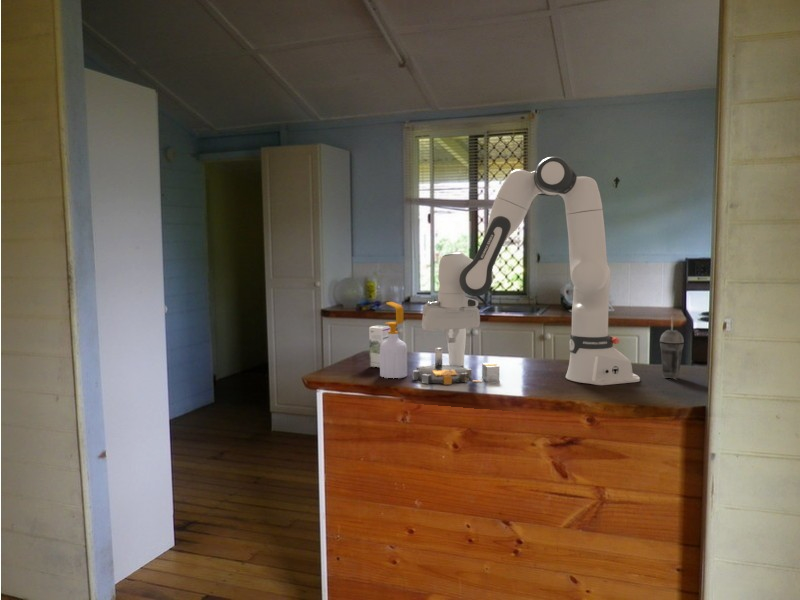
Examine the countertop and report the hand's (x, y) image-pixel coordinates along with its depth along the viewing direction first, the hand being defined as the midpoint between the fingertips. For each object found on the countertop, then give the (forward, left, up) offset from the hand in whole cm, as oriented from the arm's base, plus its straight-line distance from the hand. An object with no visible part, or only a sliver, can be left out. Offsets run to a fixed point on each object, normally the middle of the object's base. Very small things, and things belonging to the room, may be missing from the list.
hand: (450, 342), depth 206 cm
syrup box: (+22, -15, -11) cm, 29 cm away
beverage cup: (-68, +19, -11) cm, 71 cm away
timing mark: (-6, +13, -11) cm, 18 cm away
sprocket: (+4, +8, -11) cm, 14 cm away
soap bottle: (+19, +1, -11) cm, 22 cm away
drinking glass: (-5, -12, -11) cm, 17 cm away
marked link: (-11, +12, -11) cm, 19 cm away
